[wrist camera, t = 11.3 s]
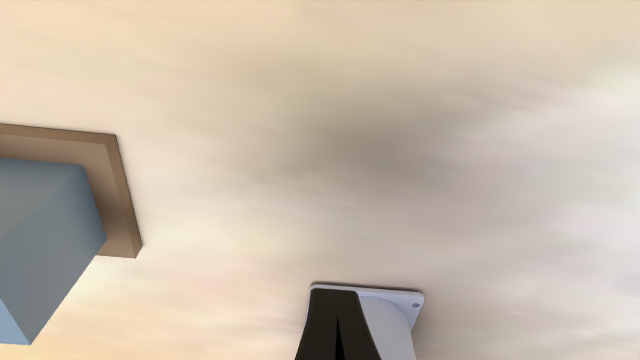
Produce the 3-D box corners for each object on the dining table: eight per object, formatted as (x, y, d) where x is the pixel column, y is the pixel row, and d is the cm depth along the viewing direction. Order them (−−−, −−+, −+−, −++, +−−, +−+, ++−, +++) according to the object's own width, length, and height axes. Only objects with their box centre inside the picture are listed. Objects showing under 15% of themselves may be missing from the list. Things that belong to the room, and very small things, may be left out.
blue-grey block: (107, 239, 21) (30, 345, 15) (15, 232, 21) (-95, 337, 15) (82, 165, 18) (-23, 263, 13) (-24, 155, 18) (-178, 251, 12)
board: (142, 246, 23) (135, 258, 22) (12, 236, 22) (0, 247, 21) (115, 134, 18) (105, 144, 17) (-49, 119, 18) (-67, 127, 17)
